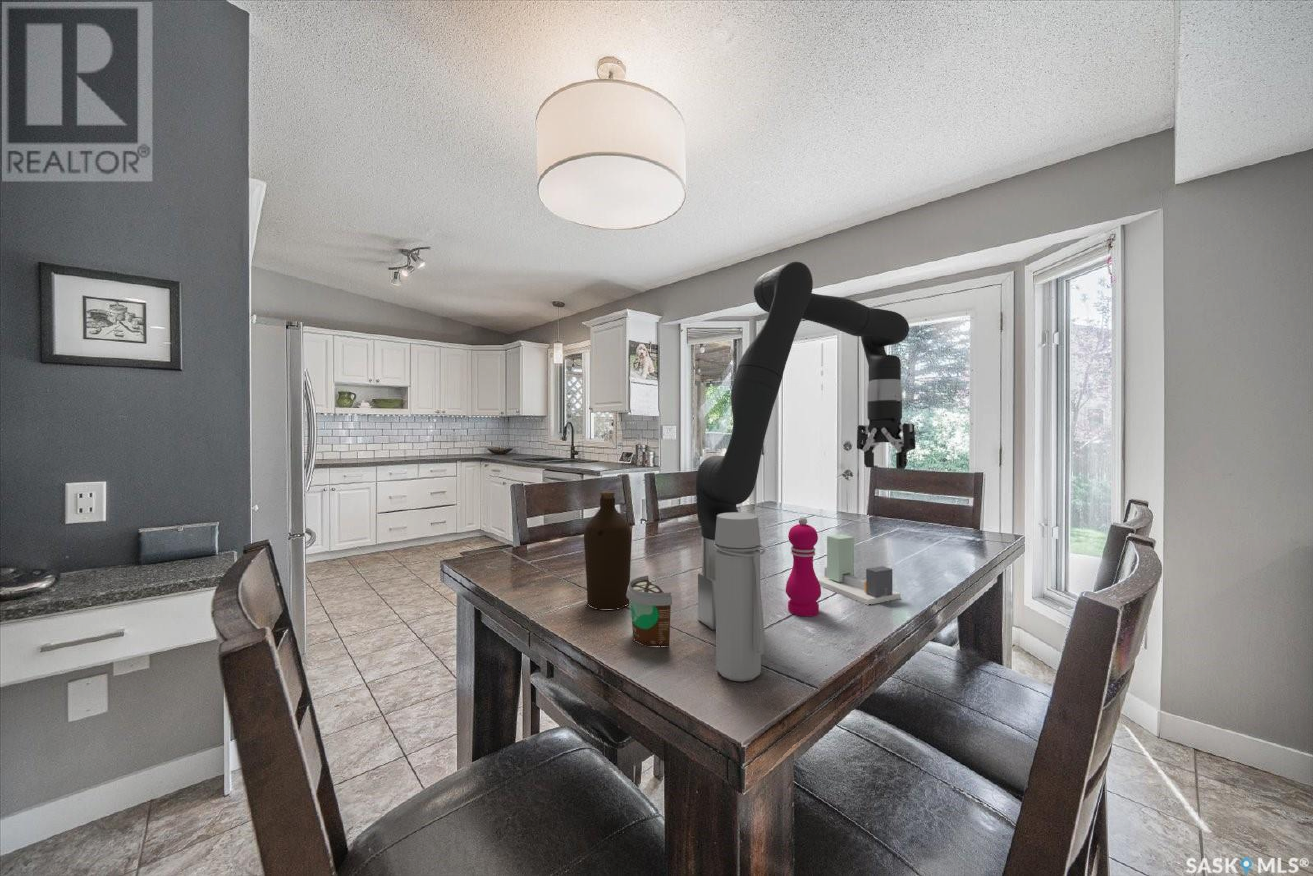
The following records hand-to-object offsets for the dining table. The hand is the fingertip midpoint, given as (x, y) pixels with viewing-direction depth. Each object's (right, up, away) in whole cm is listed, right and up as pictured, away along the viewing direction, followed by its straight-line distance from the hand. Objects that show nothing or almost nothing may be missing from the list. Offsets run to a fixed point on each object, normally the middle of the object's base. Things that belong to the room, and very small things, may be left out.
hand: (884, 468), depth 118 cm
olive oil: (-65, -30, -7) cm, 72 cm away
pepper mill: (-23, -30, -13) cm, 40 cm away
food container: (-56, -30, -26) cm, 69 cm away
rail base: (-7, -29, 0) cm, 30 cm away
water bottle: (-41, -30, -40) cm, 65 cm away
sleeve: (-9, -28, +5) cm, 29 cm away
